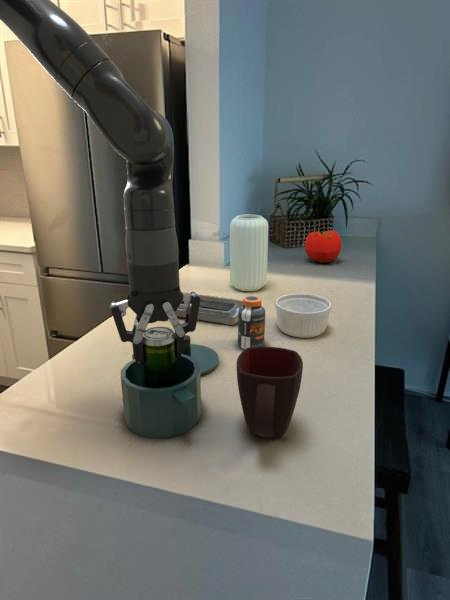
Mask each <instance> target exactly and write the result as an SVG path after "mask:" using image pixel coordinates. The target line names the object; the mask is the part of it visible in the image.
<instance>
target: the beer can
mask: <svg viewBox="0 0 450 600" xmlns="http://www.w3.org/2000/svg"><path fill="white" fill-rule="evenodd" d="M174 333H175V330H174V329H173V328H171V327H168V326H160V325H159V326H152V327H147V328H146V331H144V334H143V336H142V339H141V341H142V343H143V353H144V364H143V370H144V382H145V388H155V389H157V388H165V387H172V386H175V385H178V378H177V358H176V339H175V336H174Z"/></svg>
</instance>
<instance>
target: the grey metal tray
mask: <svg viewBox="0 0 450 600" xmlns="http://www.w3.org/2000/svg"><path fill="white" fill-rule="evenodd" d="M181 292H182V293H188V294H190V292H186V291H185V292H183V291H181ZM196 294H197V295H198V296H199V297H200V306H199V311H198V317H197V321H199V320H200V321H205V322H212V323H217V324H223V325H229V326H230V325H231V326H235V325H236V324H238V310H239V308H240V307H241V306H243V300H240V299H235V298H228V297H220V296H215V295H209V294H199V293H196ZM186 310H187V307H186V305H185V304H184V301H182V302H181V304H180V305H179V307H178V308H177V310H176V312H175V314H176V316H177V318H184V319H185V316H186Z"/></svg>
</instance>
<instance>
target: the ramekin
mask: <svg viewBox="0 0 450 600" xmlns="http://www.w3.org/2000/svg"><path fill="white" fill-rule="evenodd" d="M274 308H275V310H276V312H275V313H276V323H277V326H278V328H279V330H280V331H281V332H282V333H284V334H285V335H288V336H290V337H294V338H300V339H302V338H303V339H309V338H314V337H315V338H316V337H318V336H320V335H322V334H323V333H324V332H325V331H326V329H327V325H328V321H329V316H330V312H332V303H331V302H330V300H329V299H327V298H325V297H323V296H320V295H317V294H311V293H301V292H299V293H288V294H284V295H281V296H278V297H277V299H275V303H274Z"/></svg>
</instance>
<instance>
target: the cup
mask: <svg viewBox="0 0 450 600" xmlns="http://www.w3.org/2000/svg"><path fill="white" fill-rule="evenodd" d="M303 368H304V362H303V358H302V357H301V355H300V354H299V353H298V352H297V351H296V350H292V349H289V348H284V347H279V346H278V347H277V346H263V347H250V348H246V349H243V350H242V352H241V353H239V355H238V357H237V359H236V380H237V388H238V395H239V399H240V405H241V409H242V413H243V418H244V420H245V424H246V427H247V429H248V432H249V434H250V435H251V436H253V437H256V438H259V439H265V440H278V439H282V438H283V437H284V436H285V434H286V432H287V431H288V428H289V426H290V424H291V420H292V418H293V415H294V412H295V410H296V409H295V408H296V405H297V402H298V397H299V393H300V389H301V384H302V378H303V370H304V369H303Z"/></svg>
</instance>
